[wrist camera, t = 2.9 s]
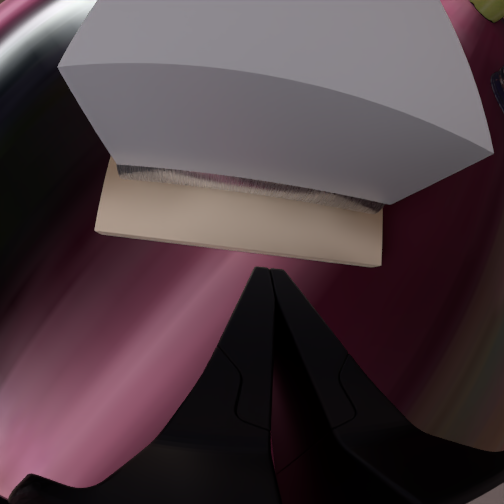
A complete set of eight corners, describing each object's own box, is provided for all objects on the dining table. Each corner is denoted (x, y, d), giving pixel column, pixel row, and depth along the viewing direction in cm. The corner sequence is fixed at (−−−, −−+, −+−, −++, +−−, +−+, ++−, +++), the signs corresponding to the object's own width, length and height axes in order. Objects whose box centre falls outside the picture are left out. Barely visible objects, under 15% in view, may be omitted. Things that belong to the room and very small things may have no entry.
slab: (390, 204, 13) (493, 153, 7) (117, 164, 12) (57, 67, 5) (379, 72, 14) (439, -1, 8) (161, 31, 13) (153, -67, 6)
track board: (371, 267, 18) (381, 265, 17) (101, 234, 16) (94, 230, 15) (358, 28, 21) (363, 20, 20) (177, -4, 19) (177, -14, 18)
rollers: (360, 220, 17) (394, 204, 14) (128, 188, 16) (110, 162, 12) (349, 24, 20) (365, -4, 16) (190, -5, 18) (191, -38, 14)
